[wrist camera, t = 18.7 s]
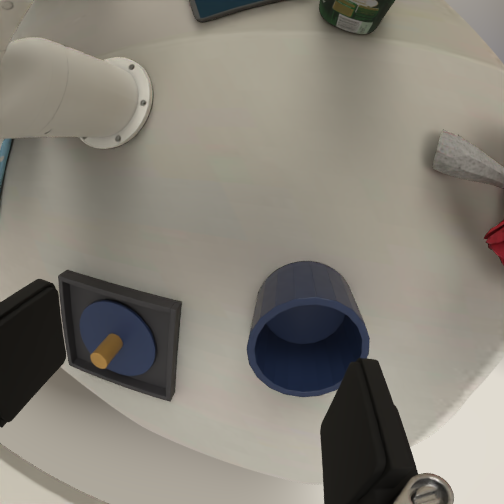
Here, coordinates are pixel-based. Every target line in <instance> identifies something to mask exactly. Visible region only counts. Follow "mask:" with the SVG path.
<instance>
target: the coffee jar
mask: <svg viewBox="0 0 504 504" xmlns="http://www.w3.org/2000/svg"><path fill="white" fill-rule="evenodd" d="M394 1H395V0H320V4H319V10H320V13H321V15H322V17H323V18H324V19H325V20H326V21H327V22H329V23H330V24H332V25H334V26H336V27H338V28H340V29H343V30H346V31H349V32H352V33H357V34H368V33H371V32H372V31H374V30H375V29H376V28H377V26H378V25H379V23H380V22H381V20H382V19H383V17H384V16H385V14H386V13H387V11H388V10H389V8H390V7H391V6H392V4H393V3H394Z"/></svg>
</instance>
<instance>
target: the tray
mask: <svg viewBox="0 0 504 504" xmlns="http://www.w3.org/2000/svg"><path fill="white" fill-rule="evenodd" d="M58 280H59V293H60V304H61V313H62V322H63V329H64V337H65V343H66V350H67V356H68V361H69V365H70V366H73V367H75V368H77V369H79V370H82V371H84V372H87V373H89V374H92V375H94V376H97V377H99V378H102V379H104V380H107V381H110V382H112V383H115V384H118V385H121V386H123V387H126V388H129V389H132V390H135V391H138V392H141V393H144V394H147V395H150V396H153V397H156V398H160V399H163V400H167V401H171V399H172V397H173V395H174V393H175V379H176V364H177V350H178V338H179V326H180V315H181V305H182V302H180V301H176V300H172V299H168V298H164V297H160V296H157V295H153V294H149V293H145V292H141V291H138V290H134V289H130V288H127V287H123V286H120V285H116V284H113V283H109V282H106V281H102V280H99V279H95V278H92V277H89V276H85V275H82V274H79V273H75V272H72V271H69V270H66V271H65V272H63V273H62V274H60V275H58ZM99 300H111V301H115V302H118V303H121V304H123V305H125V306H127V307H128V308H130V309H131V310H133V311H134V312H135V313H136V314H138V315H139V316H140V317H141V318H142V320H143V321H144V322H145V323H146V324H147V326H148V327H149V329H150V331H151V333H152V335H153V337H154V340H155V344H156V358H155V361H154V363H153V365H152V366H151V368H150V369H149V370H148V371H146V372H145V373H143V374H140V375H136V376H126V375H121V374H118V373H115V372H113V371H111V370H109V369H107V368H105V369H100V368H98V367H96V366H95V365H94V364H93V363H92V361H91V353H90V352H89V351H88V349H87V348H86V346H85V344H84V342H83V339H82V337H81V333H80V318H81V315H82V313H83V311H84V309H85V308H86V307H87V306H88V305H90V304H91V303H93V302H95V301H99Z"/></svg>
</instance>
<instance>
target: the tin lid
mask: <svg viewBox="0 0 504 504" xmlns="http://www.w3.org/2000/svg"><path fill="white" fill-rule="evenodd" d="M80 333H81V337H82V339H83V342H84V344H85V346H86V348H87V349H88V351H89V352H90V353H91V361H92V363H93V364H94V365H95V366H96V367H98V368H100V369H105V368H107V369H109V370H111V371H113V372H115V373H118V374H121V375H126V376H136V375H140V374H143V373H145V372H146V371H148V370H149V369H150V368H151V366H152V365H153V363H154V361H155V358H156V344H155V340H154V337H153V335H152V333H151V331H150V329H149V327H148V326H147V324H146V323H145V322H144V321H143V320H142V318H141V317H140V316H139V315H138V314H136V313H135V312H134V311H133V310H131V309H130V308H128V307H127V306H125V305H123V304H121V303H118V302H115V301H111V300H99V301H95V302H93V303H91V304H90V305H88V306H87V307H86V308H85V309H84V311H83V313H82V315H81V318H80Z"/></svg>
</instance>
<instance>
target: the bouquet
mask: <svg viewBox="0 0 504 504" xmlns="http://www.w3.org/2000/svg"><path fill="white" fill-rule="evenodd" d="M433 169H435V170H437V171H439V172H442V173H444V174H447V175H450V176H453V177H457V178H461V179H466V180H471V181H476V182H482V183H486V184H491V185H495V186H498V187H501V188H503V189H504V167H503V166H502V165H500V164H499V163H497V162H496V161H495V160H493V159H492V158H491V157H489V156H488V155H487V154H485V153H484V152H483V151H482V150H480V149H479V148H477V147H476V146H474V145H473V144H472V143H470V142H468V141H467V140H465V139H463V138H462V137H461V136H459V135H458V136H457V135H455V134H453V133H450V132H448V131H446V130H444V129H443V130H442V133H441V136H440V139H439V143H438V147H437V150H436V154H435V158H434V163H433ZM484 239H487V240H486V243H488V248H489V249H491V250H493V251H494V252H495V254H496V255H498V256H499V258H500V260H501V262H502V264H503V265H504V220H503V221H502V222H501V223H499V224H498V225H497V226H495V227H493V228H491V229H490V231H489V232H488V233H487V234H486V235H485V237H484Z"/></svg>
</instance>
